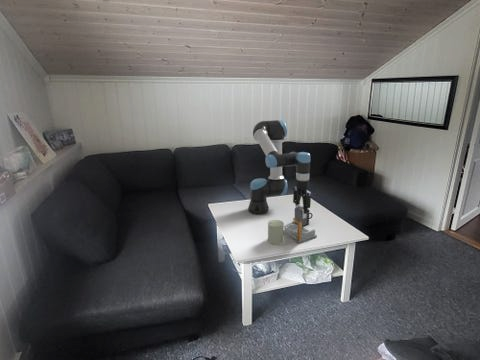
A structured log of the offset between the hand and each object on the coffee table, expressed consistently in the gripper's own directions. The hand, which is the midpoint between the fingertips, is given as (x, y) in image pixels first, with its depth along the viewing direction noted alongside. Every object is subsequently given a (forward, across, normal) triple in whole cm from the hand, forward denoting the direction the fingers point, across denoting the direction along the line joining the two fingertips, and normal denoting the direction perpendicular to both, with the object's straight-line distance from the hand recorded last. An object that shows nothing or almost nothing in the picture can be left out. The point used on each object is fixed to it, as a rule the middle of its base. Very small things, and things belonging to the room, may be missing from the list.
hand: (300, 216), depth 177 cm
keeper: (+12, 0, -1) cm, 12 cm away
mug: (+12, -12, +13) cm, 22 cm away
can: (+12, -2, -17) cm, 21 cm away
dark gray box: (+5, 0, 0) cm, 5 cm away
